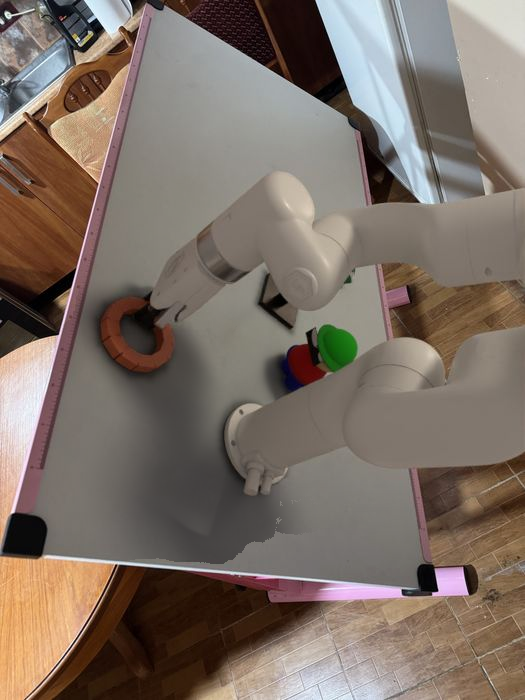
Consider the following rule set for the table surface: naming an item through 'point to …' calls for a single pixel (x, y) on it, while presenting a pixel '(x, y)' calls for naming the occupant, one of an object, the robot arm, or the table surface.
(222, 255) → the robot arm
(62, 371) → the table surface
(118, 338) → the ring
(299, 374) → the toy
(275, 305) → the post
